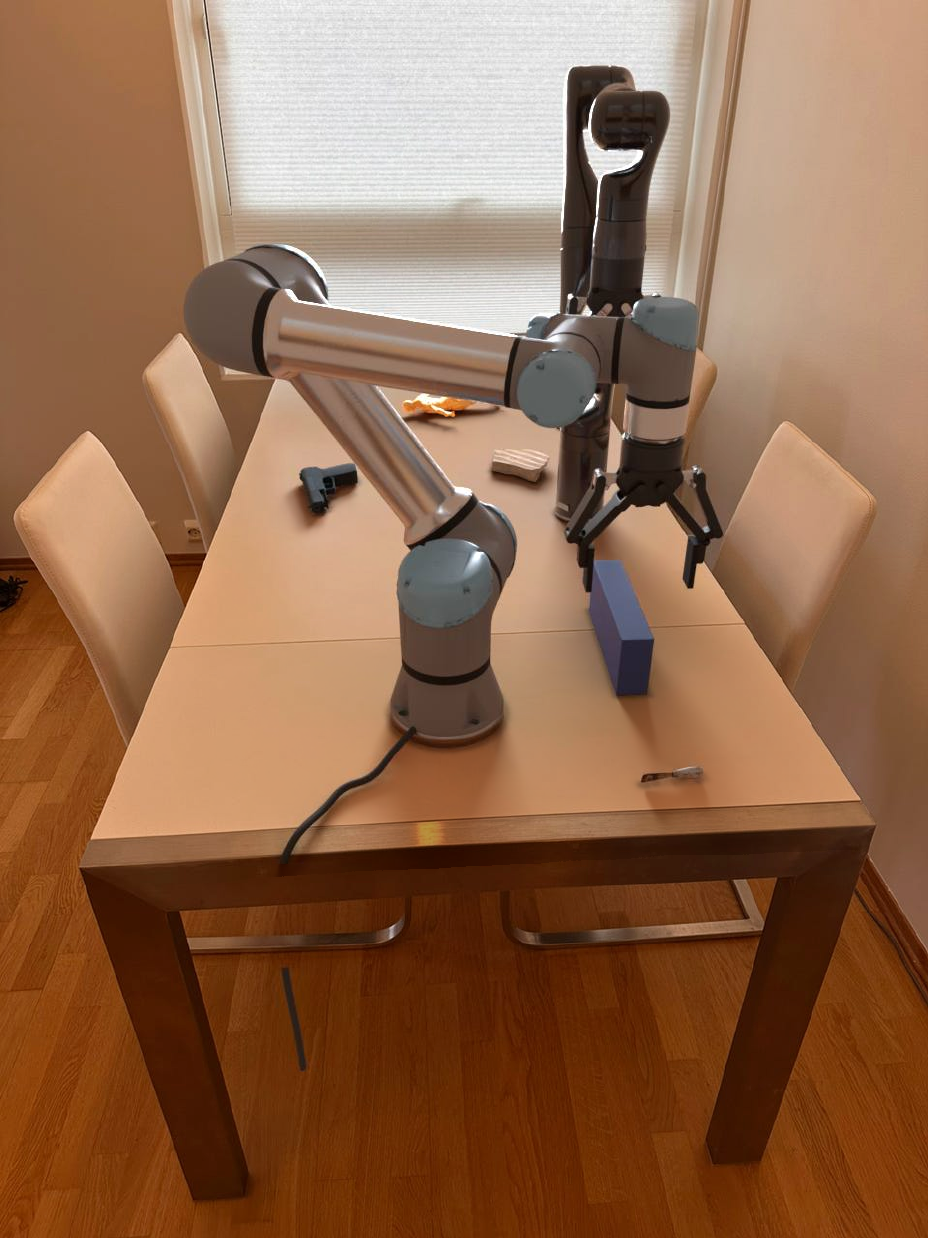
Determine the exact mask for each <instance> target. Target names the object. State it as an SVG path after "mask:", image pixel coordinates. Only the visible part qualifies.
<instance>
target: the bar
mask: <svg viewBox="0 0 928 1238" xmlns="http://www.w3.org/2000/svg"><path fill="white" fill-rule="evenodd" d="M588 603H589V604H588V612H589V614H590V619H591V621H592V625H593V628H594V631H595V634H596V637H597V640H598V643H599V646H600V650H601V652H602V656H603V659H604V662H605V665H606V668H607V671H608V675H609V678H610V680H611V683H612V686H613V689H614V693H615V696H631V695H632V696H633V695H635V696H636V695H648V693H649V692H648V691H649V684H650V676H651V669H652V662H653V661H652V660H653V653H654V646H655V638H654V635H653V633H652V630H651V628H650V626H649V623H648V621H647V619H646V617H645V613H644V612H643V609H642V607H641V604H640V602H639V600H638V597H637V595H636V592H635V591H634V588H633V586H632V583H631V581H630V578H629V575H628V574H627V571H626V569H625V567H624V564H623V562H622V559H600V560H599V559H597V560H596V559H594V566H593V580H592V592H589V601H588Z"/></svg>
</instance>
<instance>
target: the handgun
mask: <svg viewBox="0 0 928 1238" xmlns="http://www.w3.org/2000/svg"><path fill="white" fill-rule="evenodd" d="M298 475H299V480H300V481H301V482H302V485H303V488H304V493H305V495H306V499H307V500H308V505H306V508H308V509H310V510H311V512H312V514H314V515H322V514H324V513H325V508H326V509H327V511H328V510H329V509H330V507H329V506H330V505H329V498H328V496H332V495H335V494H336V492H337V491H336V488H340V487H345V486H349V485H353V484H358V482H359V477H358V471H357V465H356V464H355V463H354V462H352V463H351V462H347V463H342V464H338V465H333V466H330V467H326V468H320V467H318V466H308V467H303V468H302V469H301V470H300V472H298Z"/></svg>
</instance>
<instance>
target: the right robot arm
mask: <svg viewBox="0 0 928 1238" xmlns="http://www.w3.org/2000/svg"><path fill="white" fill-rule="evenodd" d="M670 122H671V106H670V104H669V100H668V99H667V97H666V95H664V93H662V92H661V91H658V90H637V89H636V84H635V79H634V76H633V74H632V72H631V71H630V70H629V69H628V68H626V67H624V66H620V65H611V64H609V65H606V64H605V65H603V64H602V65H597V64H596V65H573V66H572V67H570V68H569V69H568V71H567V73H566V76H565V81H564V88H563V167H564V168H563V172H564V174H563V193H562V194H563V195H562V212H561V226H560V227H561V228H560V229H561V230H560V277H559V278H560V282H559V283H560V287H559V288H560V292H559V294H560V295H559V312H558V313H564V314H571V315H584V311H585V310H586V308H588V310H589V311H590V312H589V314H588V315H589V316H607V317H625V316H631V313H632V312H633V308H634V305H635V303H636V302H637V301H639V300H641V299H644V298H649V297H654V298H656V297H663V296H662V295H661V294H660V293H659V292H657V291H653V292H652V293H651V294H650V293H649V294H643V291H642V287H643V279H644V278H643V277H644V267H645V259H646V258H645V257H646V252H647V236H648V235H647V233H648V232H647V231H648V230H647V218H648V207H649V197H650V189H651V183H652V177H653V174H654V170H655V167H656V163H657V160H658V158H659V154H660V152H661V149H662V147H663V144H664V141H665V138H666V136H667V133H668V129H669V126H670ZM584 132H589V136H590V140H591V142H592V144H593V146H594V147H595V148H597V149H598V150H600V151H605V152H607V151H608V152H636V151H637V155H636V157H635V159H634V160H633V161H632V163H630V164H629V165H628V166H625V167H622V168H618V169H614V170H609V171H606V172H604V173H603V174H602V175H601V176H600V178H599V180H598V177H597V175H596V174H595V171H594V169H593V167H592V165H591V162H590V159H589V155H588V153H587V148H586V144H585V143H586V142H585V137H584ZM615 386H616V384H608V383H596V389H595V393H594V396H593V397H592V399H591V402H590V404H589V405H588V406H587V408H586V409H585V410H584V412H583V413H582V414H581V416H580V417H579V418H578V419H577V420H575V421H574V422H573V423H571V424H569V425H566V426H564V427H560V428H559V438H558V439H559V441H558V459H557V477H556V479H557V480H556V495H555V507H554V514H555V515H556V517H557V518H559V519H560V520H563V521H565V522H567V523H569V521H570V519H571V518H572V516H573V514H574V513H575V511H576V509H577V507H578V506H579V504H580V502H581V501H582V499H583V497H584V496H585V494H586V492H587V491H588V489H589V487H590V486H591V482H592V477H593V472H594V470H595V469H598V468H599V469H601V470H602V471H603V472H607V473H608V461H609V447H610V437H611V436H610V435H611V424H612V423H611V422H612V412H613V402H614V392H615ZM605 494H606V491H604V493H603V496H602V498H601V500H600V501H599V503H598V505H597V506H596V508H595V510H594V511H593V513H592V515H591V516H590V518H589V520H588V521H587V523H588V522H589V521H590V520H591V519H592V518H593V517H594V516H595V515H596V514H597V513H598V512H599V511H600V510H601V509H602V508H603V507H604V506H605ZM587 523H586V524H587Z"/></svg>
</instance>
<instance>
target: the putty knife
mask: <svg viewBox="0 0 928 1238" xmlns="http://www.w3.org/2000/svg"><path fill="white" fill-rule="evenodd" d="M704 772H705V771H704V768H702V767H701V766H697V765H695V766H688V767H683V768H679V769H675V770H673V771H671V772H653V773H652V772H651V773H650V772H649V773H644V774H642V776H641V779H640V783H642V784H645V783H648V782H653V781H659V780H665V779H668V778H673V779H674V778H675V779H693V778H694V779H695V778H700V777H702V776H703V775H704Z"/></svg>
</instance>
